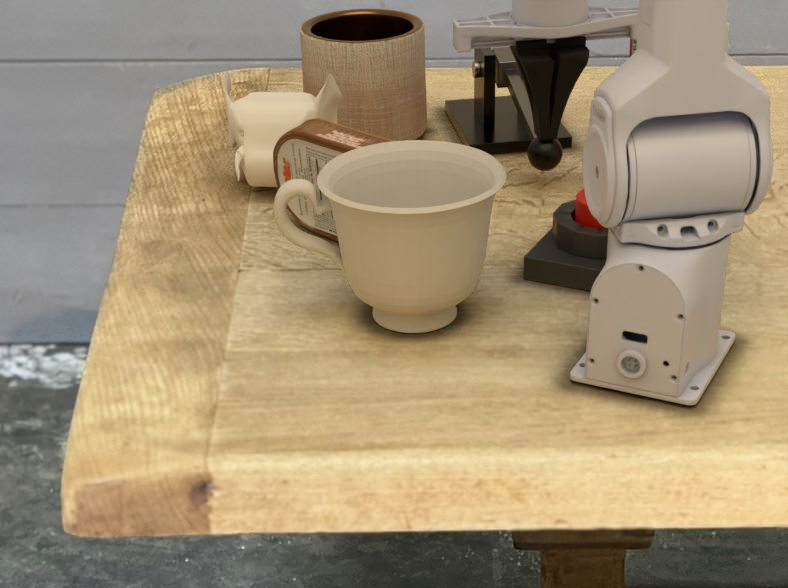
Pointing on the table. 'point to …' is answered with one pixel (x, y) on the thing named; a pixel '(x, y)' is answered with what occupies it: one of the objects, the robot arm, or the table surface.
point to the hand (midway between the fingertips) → (545, 135)
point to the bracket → (491, 114)
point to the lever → (525, 111)
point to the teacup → (404, 225)
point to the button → (585, 212)
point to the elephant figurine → (271, 124)
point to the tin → (315, 164)
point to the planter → (370, 69)
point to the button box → (568, 252)
